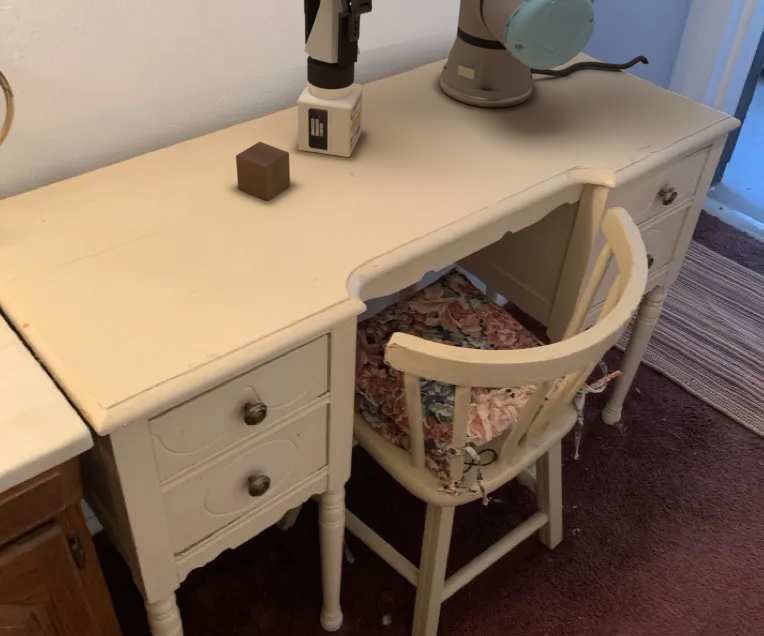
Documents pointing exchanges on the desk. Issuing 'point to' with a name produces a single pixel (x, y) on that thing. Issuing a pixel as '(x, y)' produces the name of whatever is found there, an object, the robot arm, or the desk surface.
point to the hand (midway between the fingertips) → (330, 52)
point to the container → (329, 109)
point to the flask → (325, 32)
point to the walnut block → (263, 170)
